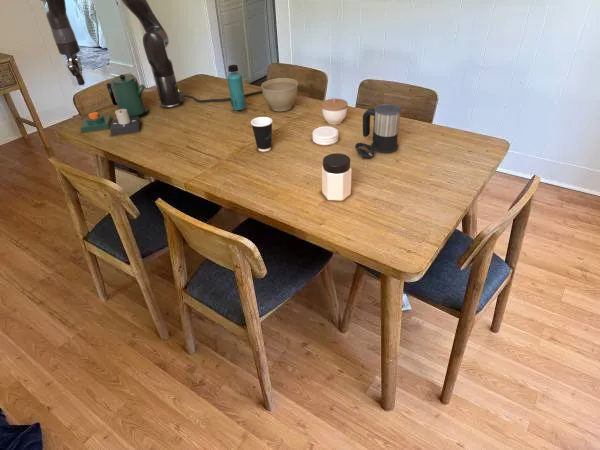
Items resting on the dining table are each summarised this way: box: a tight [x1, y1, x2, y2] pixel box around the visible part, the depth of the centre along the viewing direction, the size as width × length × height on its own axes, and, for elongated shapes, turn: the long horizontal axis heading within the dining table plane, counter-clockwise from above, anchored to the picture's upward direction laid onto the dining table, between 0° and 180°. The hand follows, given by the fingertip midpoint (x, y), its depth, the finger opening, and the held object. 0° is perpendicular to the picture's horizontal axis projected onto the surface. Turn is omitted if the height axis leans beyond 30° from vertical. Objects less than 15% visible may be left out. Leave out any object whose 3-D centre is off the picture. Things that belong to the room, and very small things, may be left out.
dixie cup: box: [250, 116, 273, 152], centre depth 152 cm, size 8×8×11 cm
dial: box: [114, 108, 130, 125], centre depth 173 cm, size 5×5×5 cm
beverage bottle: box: [226, 64, 247, 111], centre depth 180 cm, size 6×7×20 cm
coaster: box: [311, 125, 339, 146], centre depth 157 cm, size 10×10×4 cm
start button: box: [87, 111, 100, 119], centre depth 178 cm, size 4×4×2 cm
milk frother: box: [354, 103, 402, 159], centre depth 145 cm, size 14×16×15 cm
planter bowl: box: [260, 77, 299, 112], centre depth 183 cm, size 16×16×11 cm
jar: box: [321, 152, 353, 201], centre depth 125 cm, size 9×8×12 cm
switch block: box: [80, 113, 113, 133], centre depth 179 cm, size 11×10×4 cm
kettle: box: [106, 74, 149, 119], centre depth 183 cm, size 18×13×18 cm
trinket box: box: [320, 98, 349, 125], centre depth 169 cm, size 11×11×9 cm
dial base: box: [109, 116, 141, 136], centre depth 175 cm, size 11×10×3 cm
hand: (82, 84), depth 170 cm, fingers closed
